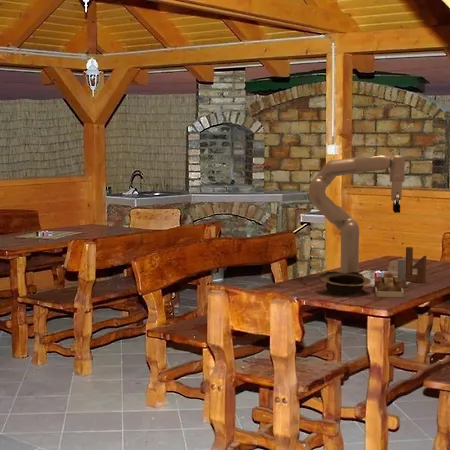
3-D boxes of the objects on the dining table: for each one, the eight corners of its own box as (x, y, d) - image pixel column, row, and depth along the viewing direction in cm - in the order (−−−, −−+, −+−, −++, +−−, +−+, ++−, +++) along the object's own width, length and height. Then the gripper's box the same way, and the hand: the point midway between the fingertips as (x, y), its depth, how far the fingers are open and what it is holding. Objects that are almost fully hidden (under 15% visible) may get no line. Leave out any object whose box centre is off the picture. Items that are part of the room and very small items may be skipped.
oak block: (384, 285, 410) (384, 273, 409) (383, 284, 414) (384, 272, 413) (392, 285, 409) (392, 273, 409) (392, 284, 413) (392, 272, 413)
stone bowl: (330, 285, 423) (332, 267, 422) (377, 293, 411) (378, 275, 410) (310, 292, 402) (312, 274, 401) (358, 301, 390) (360, 282, 388)
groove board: (375, 292, 406) (375, 281, 405) (374, 287, 419) (374, 276, 418) (402, 292, 404) (402, 281, 403) (400, 288, 417) (400, 277, 416)
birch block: (384, 287, 406) (384, 279, 405) (384, 285, 409) (384, 277, 409) (392, 287, 405) (393, 279, 404) (392, 285, 409) (392, 277, 408)
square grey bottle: (396, 287, 419) (396, 259, 418) (395, 285, 423) (396, 258, 421) (406, 287, 419) (406, 260, 417) (405, 286, 422) (406, 259, 421)
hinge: (386, 275, 455) (388, 257, 457) (388, 277, 459) (390, 259, 461) (416, 277, 447) (418, 259, 449) (418, 279, 451) (420, 261, 453)
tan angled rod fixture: (423, 283, 431) (424, 248, 429) (403, 281, 437) (404, 247, 435) (425, 282, 434) (426, 248, 432) (406, 280, 440) (407, 246, 438)
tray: (375, 296, 394) (376, 291, 394) (375, 292, 406) (375, 287, 405) (403, 297, 392) (403, 292, 392) (402, 292, 404) (402, 287, 404)
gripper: (388, 178, 440) (388, 210, 442) (390, 179, 423) (389, 213, 425) (403, 178, 439) (402, 210, 441) (405, 179, 422) (404, 213, 424)
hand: (396, 211), depth 433 cm, fingers open, 9 cm apart
